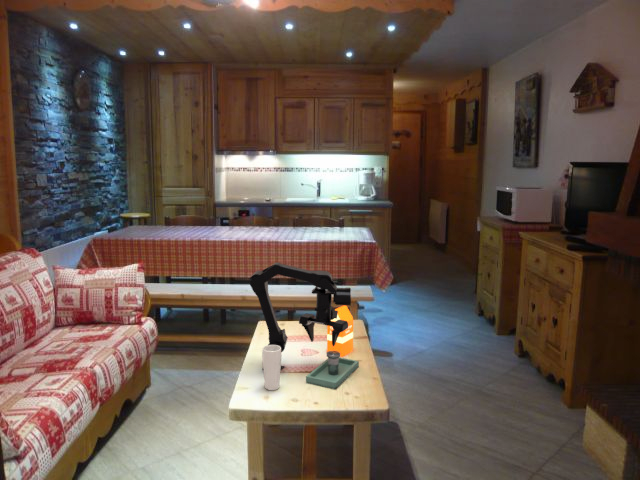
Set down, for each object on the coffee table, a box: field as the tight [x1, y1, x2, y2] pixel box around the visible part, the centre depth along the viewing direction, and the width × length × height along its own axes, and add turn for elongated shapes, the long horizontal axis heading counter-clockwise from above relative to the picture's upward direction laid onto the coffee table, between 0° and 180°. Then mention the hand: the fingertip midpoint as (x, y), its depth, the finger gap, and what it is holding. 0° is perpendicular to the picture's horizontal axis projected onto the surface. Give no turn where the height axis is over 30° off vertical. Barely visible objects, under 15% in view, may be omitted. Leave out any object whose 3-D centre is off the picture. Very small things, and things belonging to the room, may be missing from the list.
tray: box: [305, 357, 360, 390], centre depth 196 cm, size 22×12×2 cm, turn 154°
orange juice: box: [326, 305, 354, 358], centre depth 217 cm, size 8×9×20 cm
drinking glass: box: [261, 344, 282, 391], centre depth 184 cm, size 7×7×15 cm
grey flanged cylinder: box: [326, 351, 341, 375], centre depth 195 cm, size 5×5×8 cm
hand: (322, 343), depth 198 cm, fingers open, 9 cm apart
